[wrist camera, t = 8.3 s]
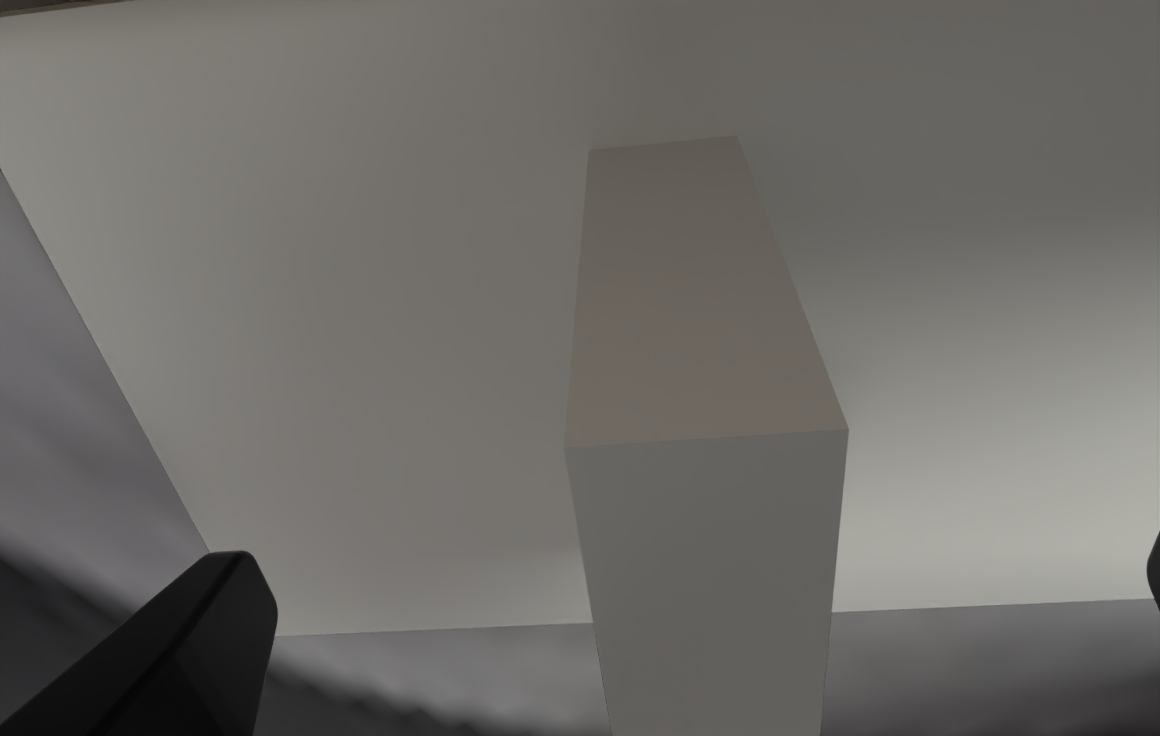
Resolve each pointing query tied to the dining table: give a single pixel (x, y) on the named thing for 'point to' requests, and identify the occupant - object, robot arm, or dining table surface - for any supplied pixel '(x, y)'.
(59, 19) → the lid
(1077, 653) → the dining table surface
